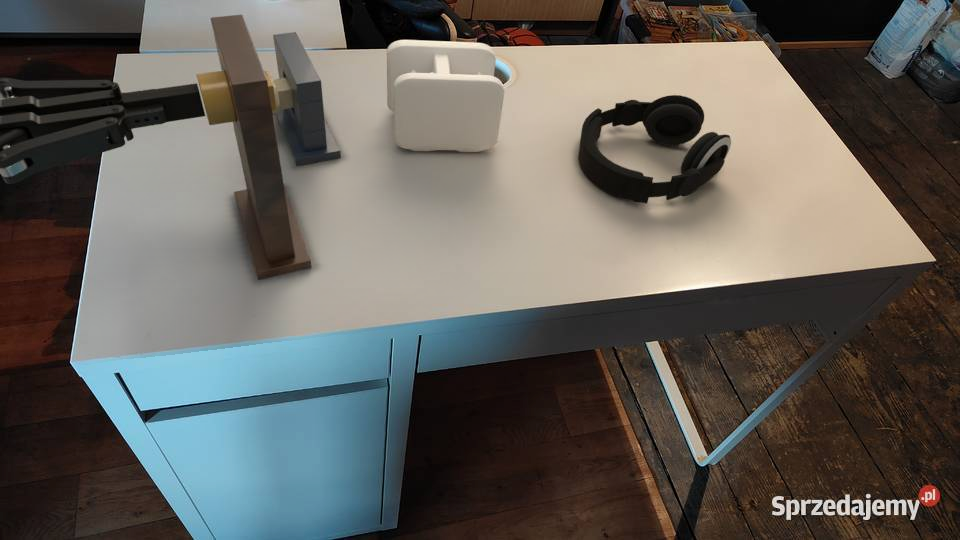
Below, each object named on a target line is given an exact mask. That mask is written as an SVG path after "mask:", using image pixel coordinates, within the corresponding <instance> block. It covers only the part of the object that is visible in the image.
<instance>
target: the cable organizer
mask: <svg viewBox="0 0 960 540" xmlns="http://www.w3.org/2000/svg"><path fill="white" fill-rule="evenodd" d="M496 61H497V59H496V54H495V51H494V49H493V47H491V46H490V45H489V44H486V43H484V42H469V41H445V40H420V39H419V40H418V39H399V40H395V41H393V42H391V43H390V44H389V45H388V46H387V49H386V105H387V108H388V109H389V110H390V111H391V112H393V140H394V142H395V144H396V146H399V147H400V148H402V149H406V150H411V151H413V152H434V151H456V152H460V153H479V152H481V151H487V150H490V149H492V148H493V147H495V146H496V144H497V143H498V139H499V134H500V133H499V132H500V126H501V118H502V113H503V112H502V111H503V106H504V99H505V89H504V84H503V82H502V80H501V79H499V78H498V77H496V76H495V71H496V70H495V69H496V64H497V63H496Z"/></svg>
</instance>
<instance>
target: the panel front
mask: <svg viewBox="0 0 960 540" xmlns="http://www.w3.org/2000/svg"><path fill="white" fill-rule="evenodd" d="M210 23H211V28H212V32H213V38H214V41H215V47H216V51H217V55H218V56H217V57H218V60H219V65H220V69H221V70H220V71H224V72H225V74H226V77H227V81H228V84H229V87H230V91H231V96H232V100H233V105H234V110H235V115H236V121H235V122H232V125H233V131H234V135H235V140H236V144H237V150H238V154H239V158H240V163H241V167H242V172H243V177H244V181H245V186H246V187H245V189H241V190H237V191H236V190H235V191H234V192H233V193H234V197H235V201H236V205H237V210H238V212H239V216H240V220H241V223H242V226H243V230H244V234H245V238H246V242H247V246H248V249H249V253H250V256H251V260H252V263H253V267H254V270H255V274H256V278H257V281H258V280H259V281H260V280H263V279H267V278H273V277H276V276H280V275H284V274H285V275H286V274H289V273H293V272H297V271H298V272H299V271H301V270H302V271H303V270H307V269H311V268H312V267H313V266H312V260H311V257H310V253H309V251H308V249H307V245H306V242H305V240H304V237H303V234H302V231H301V228H300V225H299V223H298V220H297V216H296V214H295V210H294V208H293V205H292V202H291V199H290V197H289V194H288V191H287V188H286V185H285V183H284V182H285V181H284V177H283V170H282V165H281V164H282V163H281V159H280V152H279V146H278V145H279V144H278V138H277V132H276V125H275V120H274V115H273V113H272V107H271V100H270V94H269V88H268V82H267V78H266V76H265V73H264V71H265V70H264V68H263V66H262V63H261V60H260V58H259V55H258V52H257V49H256V47H255V45H254V41H253V39H252V36H251V34H250V31H249V29H248V25H247V23H246V21H245V17H244V15H243V14H235V15H234V14H233V15H223V16H222V15H221V16H213V17H210Z"/></svg>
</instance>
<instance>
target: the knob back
mask: <svg viewBox="0 0 960 540" xmlns="http://www.w3.org/2000/svg"><path fill="white" fill-rule="evenodd" d="M269 76H270V79H271V81H272V84H273V87H274V94H275V100H276V107H277V110H273V111H272V113H273V116H275V114H280V113H281V110H282V109H288V108H294V104H293V96H292V89H291V86H290V83H289V81H288V79H287V78H281V79H279V78H274V77H273V75H269Z"/></svg>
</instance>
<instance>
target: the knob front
mask: <svg viewBox="0 0 960 540" xmlns="http://www.w3.org/2000/svg"><path fill="white" fill-rule="evenodd" d="M264 73H265V76H266V78H267V82H268V88H269V94H270V100H271V107H272V111H273V110H277V107H276V100H275V94H274V87H273V84H272V81H271V79H270V76H271V75H270V74H269V71H268V70H264ZM196 78H197V82H198V87H199V91H200V95H201V99H202V103H203V107H204V111H205V115H206V118H207V122H208V126H215V125H222V124H228V123H233V122H235V121H236V115H235V110H234V105H233V100H232V96H231V91H230V87H229V84H228V81H227V77H226V74H225V72H224V71H222V70H218V71H217V70H216V71H210V72H203V73H202V72H201V73H197V74H196Z"/></svg>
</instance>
